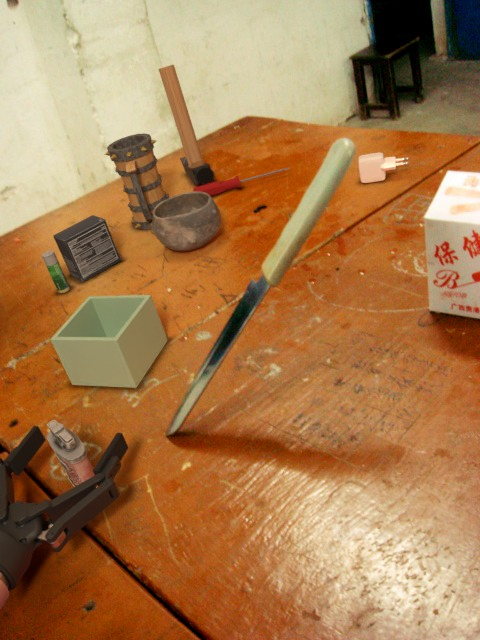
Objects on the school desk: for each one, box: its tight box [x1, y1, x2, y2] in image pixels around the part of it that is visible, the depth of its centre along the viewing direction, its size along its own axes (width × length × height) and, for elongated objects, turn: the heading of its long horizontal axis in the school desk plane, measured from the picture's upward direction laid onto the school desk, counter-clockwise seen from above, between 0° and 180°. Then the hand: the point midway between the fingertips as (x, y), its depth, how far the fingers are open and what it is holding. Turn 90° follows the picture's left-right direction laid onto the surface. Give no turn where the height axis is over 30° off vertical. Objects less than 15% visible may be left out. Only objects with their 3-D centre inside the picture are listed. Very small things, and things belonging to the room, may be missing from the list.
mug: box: [103, 132, 170, 230], centre depth 152 cm, size 13×17×20 cm
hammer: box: [158, 64, 215, 186], centre depth 170 cm, size 20×5×30 cm, turn 17°
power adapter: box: [357, 151, 410, 184], centre depth 146 cm, size 11×5×6 cm, turn 78°
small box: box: [52, 214, 122, 283], centre depth 141 cm, size 11×6×10 cm, turn 130°
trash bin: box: [49, 294, 169, 389], centre depth 107 cm, size 13×13×10 cm
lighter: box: [46, 419, 98, 488], centre depth 85 cm, size 8×3×10 cm, turn 40°
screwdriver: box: [192, 167, 291, 197], centre depth 162 cm, size 4×25×4 cm, turn 97°
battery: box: [41, 249, 71, 295], centre depth 135 cm, size 3×3×10 cm
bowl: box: [150, 191, 222, 252], centre depth 139 cm, size 14×15×10 cm
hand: (80, 436), depth 86 cm, fingers open, 13 cm apart
